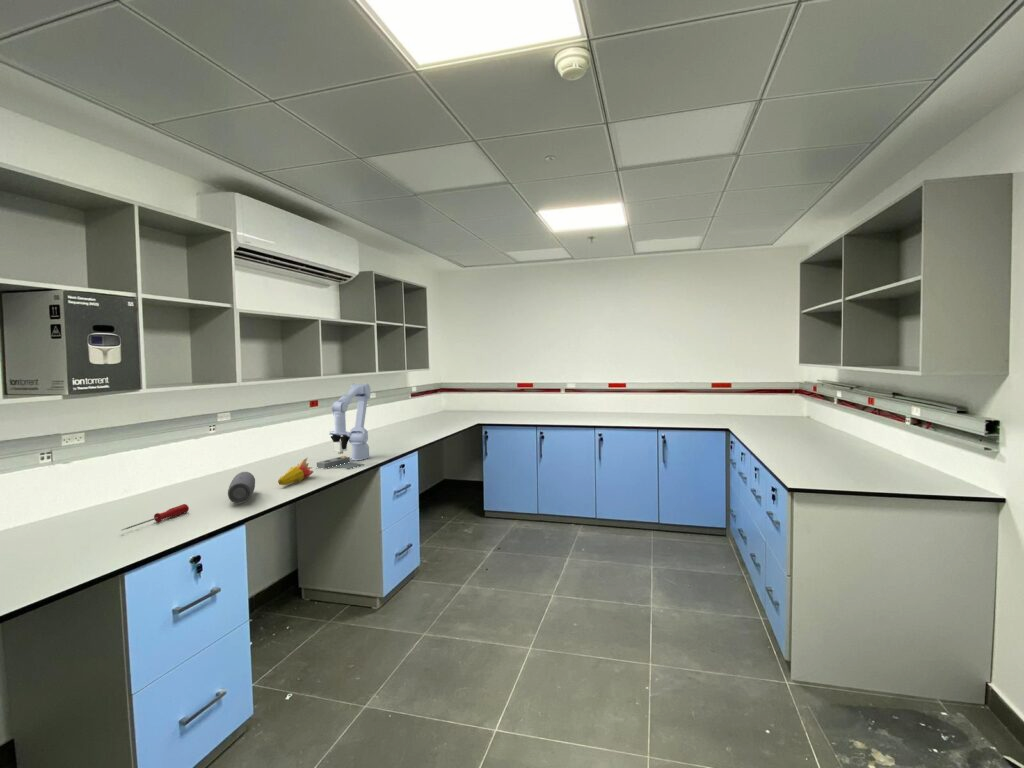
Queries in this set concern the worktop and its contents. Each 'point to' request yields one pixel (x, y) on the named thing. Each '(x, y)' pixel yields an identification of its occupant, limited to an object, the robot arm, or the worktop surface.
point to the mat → (348, 465)
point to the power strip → (333, 462)
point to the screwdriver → (167, 514)
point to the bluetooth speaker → (241, 487)
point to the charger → (339, 447)
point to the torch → (296, 473)
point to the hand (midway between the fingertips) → (340, 448)
